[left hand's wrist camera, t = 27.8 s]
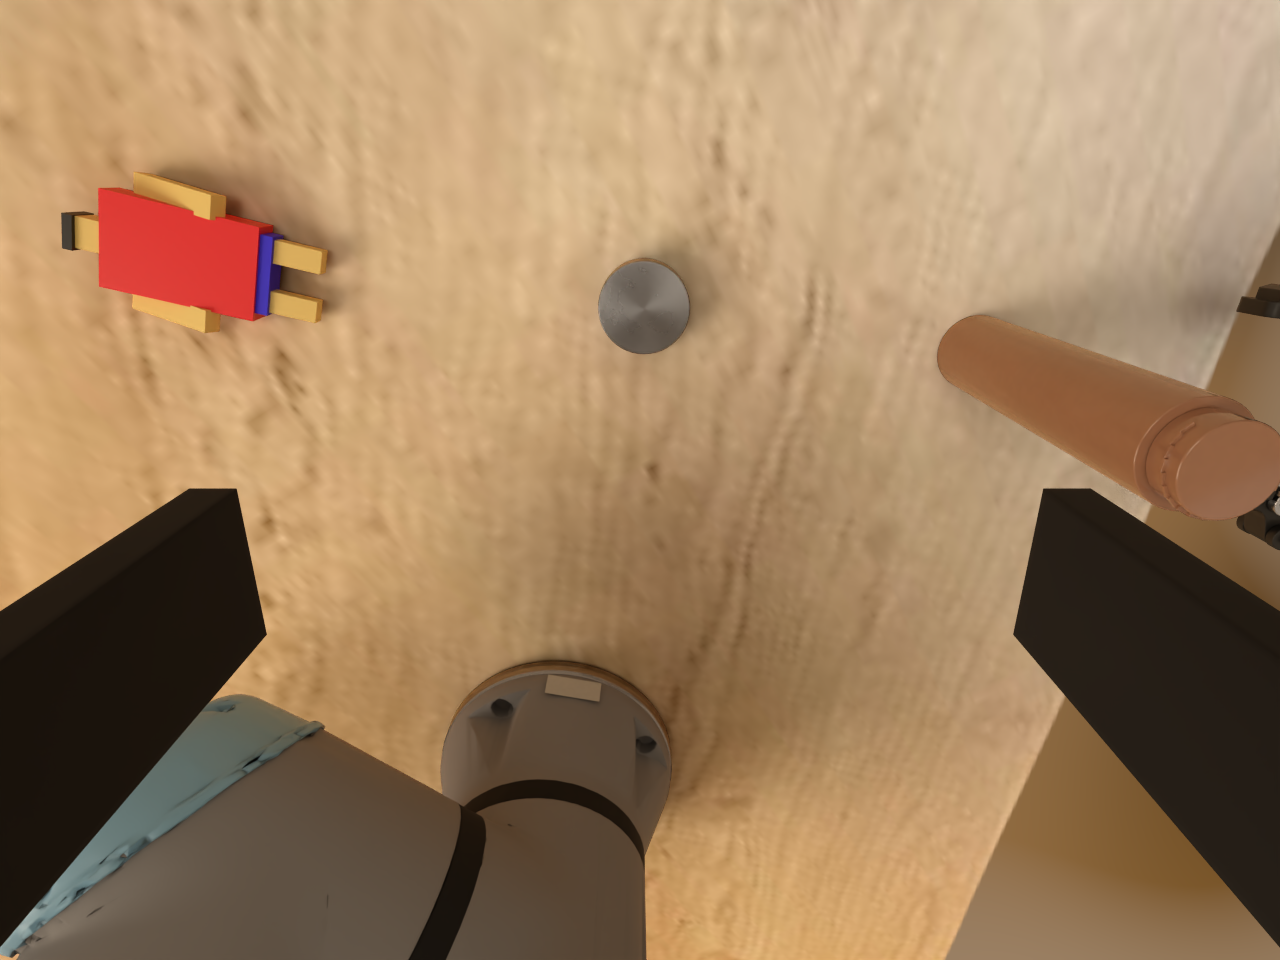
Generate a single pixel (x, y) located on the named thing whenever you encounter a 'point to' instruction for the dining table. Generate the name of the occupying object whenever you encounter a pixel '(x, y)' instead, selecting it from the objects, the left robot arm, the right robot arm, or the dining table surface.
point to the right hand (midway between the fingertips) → (1216, 396)
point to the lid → (644, 306)
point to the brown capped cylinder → (1119, 418)
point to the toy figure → (190, 255)
